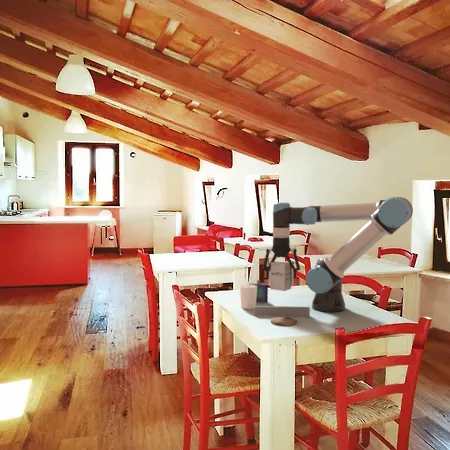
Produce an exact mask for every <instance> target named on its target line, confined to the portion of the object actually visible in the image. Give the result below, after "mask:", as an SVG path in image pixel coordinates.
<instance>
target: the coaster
mask: <svg viewBox="0 0 450 450" xmlns="http://www.w3.org/2000/svg"><path fill="white" fill-rule="evenodd" d="M270 323H271V324H272V325H274V326H278V325H279V326H280V327H291V326H292V327H293V326H295V325H298V320H297V319H296V318H294V317H291V316H274V317H272V318H271V319H270Z"/></svg>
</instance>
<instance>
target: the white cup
mask: <svg viewBox="0 0 450 450" xmlns="http://www.w3.org/2000/svg"><path fill="white" fill-rule="evenodd" d="M239 293H240V307H241V308H242V309H244V310H254V309H255V306H257V302H256V298H257V286H256V285H249V284H241V285H240V292H239Z"/></svg>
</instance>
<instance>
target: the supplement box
mask: <svg viewBox="0 0 450 450" xmlns="http://www.w3.org/2000/svg"><path fill="white" fill-rule="evenodd" d="M270 271H271V286H269V287H270V290H276V291H282V292H286V291H288V290H291V289H292V285H291V271H293V269H292V267H291V265H290V263H289V262H288V260H287V261H286V260H278V259H277V260H275V261H274V262H271V268H270Z"/></svg>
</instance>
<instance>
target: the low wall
mask: <svg viewBox="0 0 450 450" xmlns="http://www.w3.org/2000/svg"><path fill="white" fill-rule="evenodd" d="M253 310H254V311H253V312H254V313H253V315H254V317H303V318H305V317H306V318H307V317H308V318H309V317H310V316H311V315H310V314H311V308H310V306H286V305H285V306H279V305H278V306H274V305H273V306H272V305H256V306H255V308H254V309H253Z"/></svg>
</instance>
